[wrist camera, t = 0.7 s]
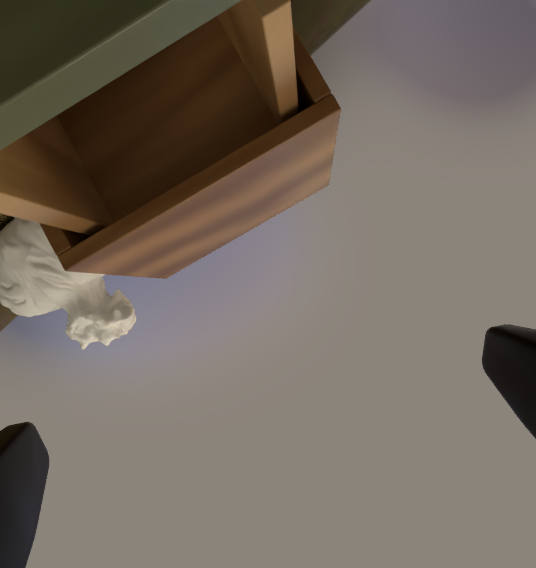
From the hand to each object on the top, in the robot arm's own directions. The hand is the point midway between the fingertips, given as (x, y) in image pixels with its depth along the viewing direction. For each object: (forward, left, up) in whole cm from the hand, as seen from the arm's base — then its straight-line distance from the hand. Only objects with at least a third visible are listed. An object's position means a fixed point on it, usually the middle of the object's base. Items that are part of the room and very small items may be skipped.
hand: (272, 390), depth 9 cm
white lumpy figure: (+16, -21, -16) cm, 31 cm away
